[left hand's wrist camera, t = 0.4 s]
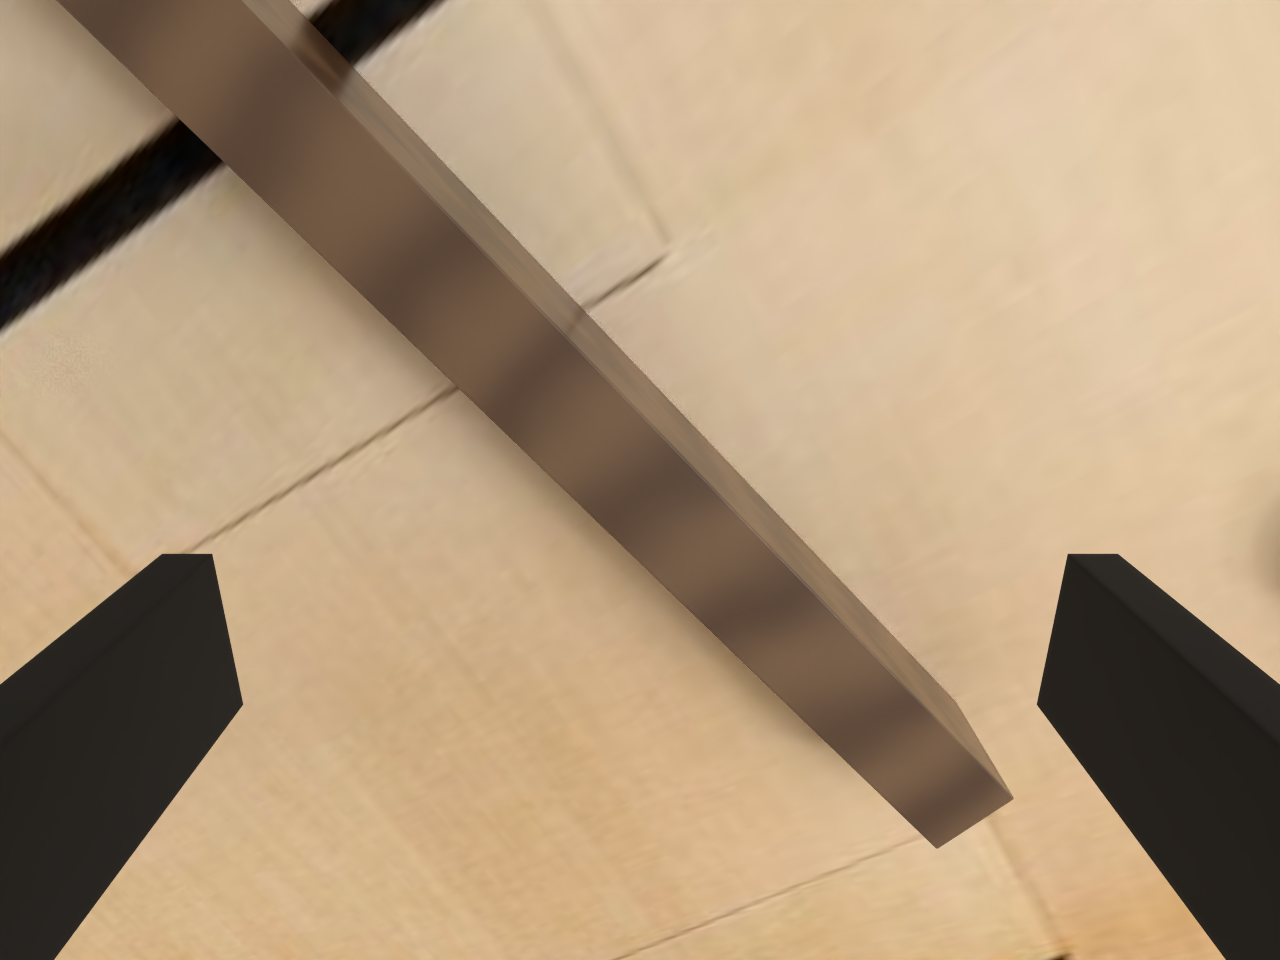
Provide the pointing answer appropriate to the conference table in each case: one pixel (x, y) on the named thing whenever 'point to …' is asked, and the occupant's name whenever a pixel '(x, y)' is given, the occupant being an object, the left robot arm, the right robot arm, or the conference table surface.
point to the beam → (549, 380)
